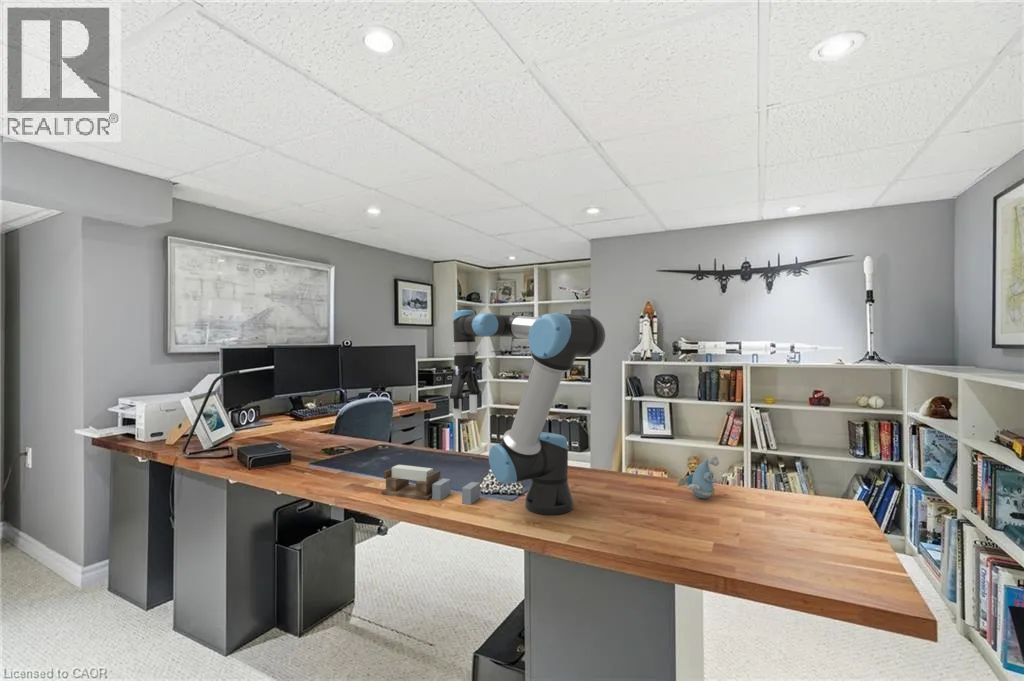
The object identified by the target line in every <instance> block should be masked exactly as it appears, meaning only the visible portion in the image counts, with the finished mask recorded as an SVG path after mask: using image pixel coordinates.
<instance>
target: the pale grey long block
mask: <svg viewBox="0 0 1024 681" xmlns="http://www.w3.org/2000/svg"><path fill="white" fill-rule="evenodd" d="M391 468H392V478H400V479H407V480H409V481H415V482H418V481H423V482H426V477H427V476H429V475H431V474H433V473H434V468H433V467H432V468H431V467H424V466H423V467H422V466H415V465H406V464H396V465H393V466H392V467H391Z"/></svg>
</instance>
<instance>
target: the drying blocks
mask: <svg viewBox="0 0 1024 681" xmlns="http://www.w3.org/2000/svg"><path fill="white" fill-rule="evenodd" d="M480 485H481V484H480V482H478V481H477V482H475V481H471V482H469V483H467V484H466V485H464V486H463V487H462V488H461V504H464V505H469V506H470V505H472V504H473V503H475V502H476V501H478V500H479V499H480V497H481V496H480V495H481V494H480V492H481V490H480V489H481V486H480ZM449 495H451V479H450V478H441V479H438V481H437V482H435V483H434V484H432V498H431V499H432V500H435V501H442V500H443V499H445V498H447V497H448V496H449Z"/></svg>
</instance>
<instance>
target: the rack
mask: <svg viewBox="0 0 1024 681" xmlns="http://www.w3.org/2000/svg"><path fill="white" fill-rule="evenodd" d="M440 478H441V470H436V471H435V472H434V471H433V474H431V475H429V476H427V477H426V482H423V481H415V484H411V483H410V480H407V479H400V478H392V467H391V468H389V469H387V470H384V471H383V479H384V480H385V489H383V490H381V494H382V495H387V496H395V497H400V498H402V497H403V498H407V499H415V500H421V501H422V500H423V501H429V500H430V499H432V484H434V483H435V482H437V481H439V480H440Z"/></svg>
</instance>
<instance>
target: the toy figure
mask: <svg viewBox="0 0 1024 681" xmlns="http://www.w3.org/2000/svg"><path fill="white" fill-rule="evenodd" d="M709 464H710V465H712V466H714V467H718V465H719V464H720V461H719V459H718V457H717V456H716V455H714V454H713V455H711V456H710V458H707V459H705V460H704V461H703V462H700V463H699V464H698V465H697V466H696V469H695V470H694V472H693V474H692V473H691V474H687V475H686V476H681V477H680V478H678V479H677V481H676V482H677V486H678V487H683V486H685V487H686V488H687V490H691V492H692V493H693V495H694V496H696V497H697V498H699V499H708V498H710V497H712V496H713V497H714V495H715V487H716V486H717V485H716V484H717V483H718V479H717V478H716V477H714V474H715V473H714V472H713V471H710V467H709ZM714 486H715V487H714Z"/></svg>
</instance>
